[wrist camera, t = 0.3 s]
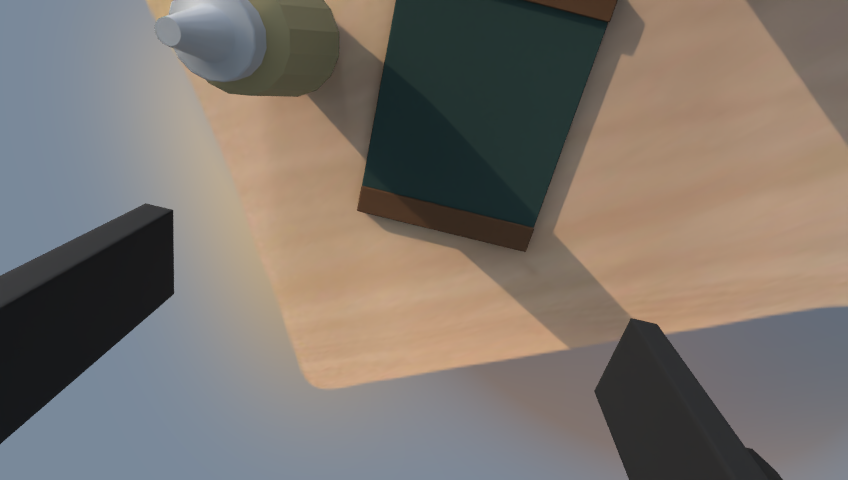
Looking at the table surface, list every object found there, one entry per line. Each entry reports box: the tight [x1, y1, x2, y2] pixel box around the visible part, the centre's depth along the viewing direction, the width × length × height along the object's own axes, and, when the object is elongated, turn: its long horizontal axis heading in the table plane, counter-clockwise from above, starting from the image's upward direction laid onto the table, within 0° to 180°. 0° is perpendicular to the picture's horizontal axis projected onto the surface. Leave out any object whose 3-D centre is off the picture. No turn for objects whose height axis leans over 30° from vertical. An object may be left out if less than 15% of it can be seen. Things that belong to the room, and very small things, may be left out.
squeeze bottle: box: [155, 0, 339, 97], centre depth 28 cm, size 8×8×18 cm
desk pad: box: [357, 0, 617, 252], centre depth 37 cm, size 22×16×1 cm
